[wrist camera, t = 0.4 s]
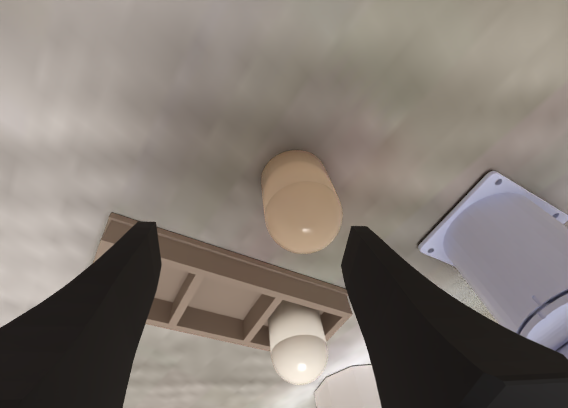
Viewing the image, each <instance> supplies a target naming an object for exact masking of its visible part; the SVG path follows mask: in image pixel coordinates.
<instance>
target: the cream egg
mask: <svg viewBox="0 0 568 408" xmlns="http://www.w3.org/2000/svg"><path fill="white" fill-rule="evenodd" d="M268 326H269V339H270V351H271V359H272V363H273V366H274V368H275V370H276V372H277V373H278V374H279V375H280V377H281V378H283V379H284V380H285V381H287V382H289V383H292V384H295V385H304V384H309V383H311V382H313V381H315V380H316V379H317V378H318V377H319V376H320V375H321V374H322V373H323V371H324V369H325V367H326V365H327V361H328V347H327V343H326V339H325V335H324V331H323V326H322V322H321V318H320V314H319V310H316V309H313V308H309V307H306V306H302V305H299V304H295V303H292V302H289V301H285V300H282V301H281V303H280V304H279V305H278V306H277V308H276V309H275V310H274V312H273V313H272V314H271V316H270V317H269V318H268Z"/></svg>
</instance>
